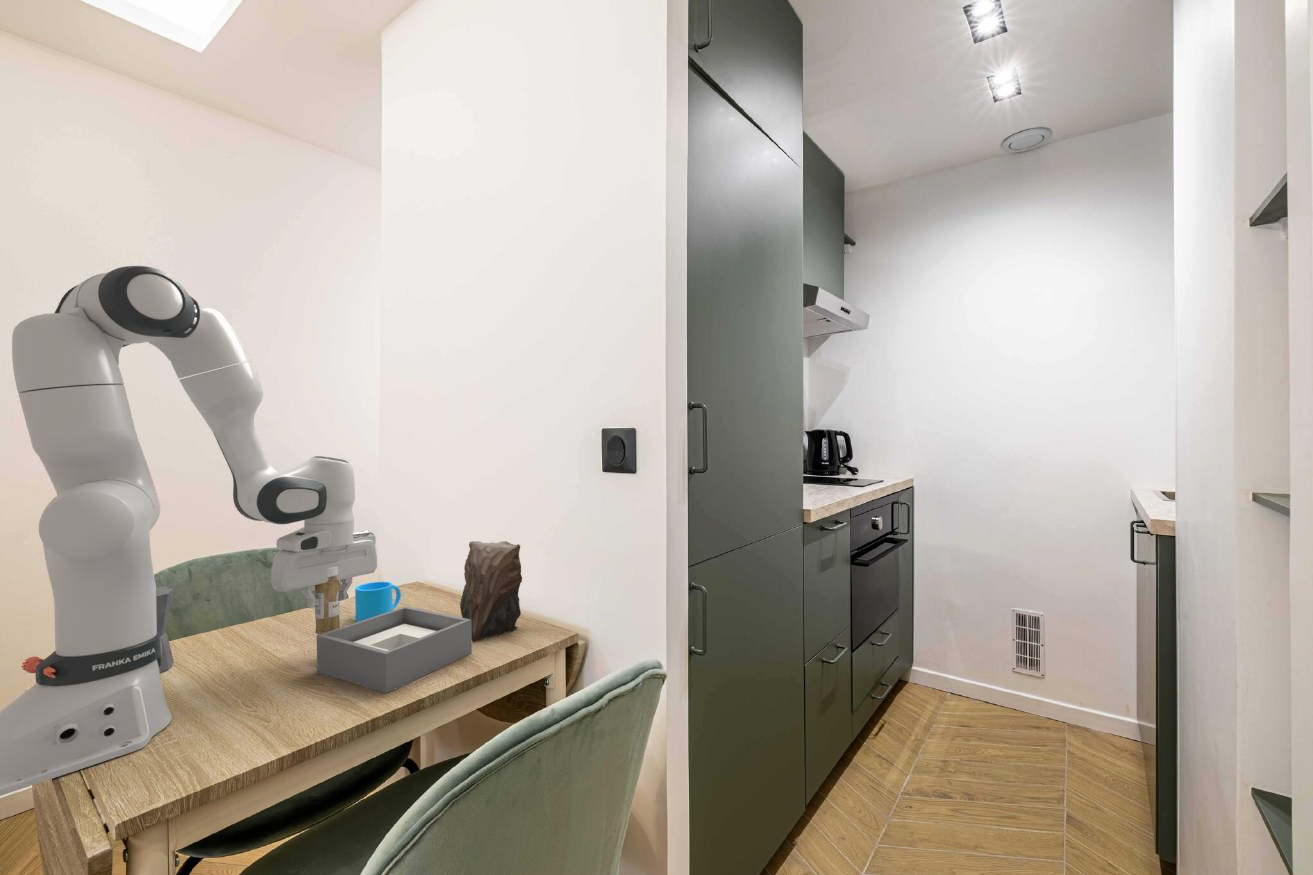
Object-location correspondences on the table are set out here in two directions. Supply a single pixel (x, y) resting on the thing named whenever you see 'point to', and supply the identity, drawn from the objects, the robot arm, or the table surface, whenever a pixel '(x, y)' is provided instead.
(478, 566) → the owl
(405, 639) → the box
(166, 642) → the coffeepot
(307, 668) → the table surface
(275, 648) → the table surface
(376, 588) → the mug
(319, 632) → the sprinkles bottle
